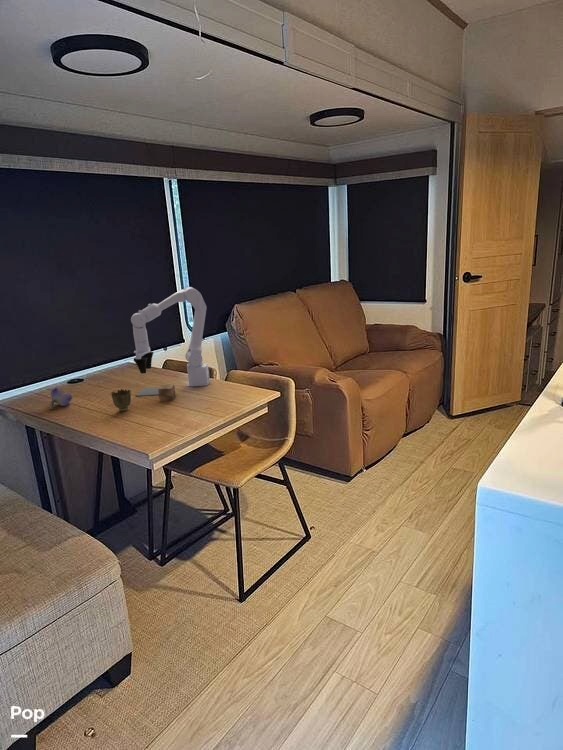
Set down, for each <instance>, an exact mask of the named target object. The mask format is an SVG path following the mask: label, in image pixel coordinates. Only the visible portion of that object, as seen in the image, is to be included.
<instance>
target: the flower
mask: <svg viewBox="0 0 563 750" xmlns="http://www.w3.org/2000/svg"><path fill="white" fill-rule="evenodd" d="M50 397H51V401H50V402H49V408H50V410H51V409H53V410H54V404H58V405H60V406H61V407H67V406H70V403H71V401H72V399H73V396H72V394H71V393H69V392H63V389H62V388H60V389H59V388H58V387H57V386H55V387H54V389H51V391H50Z"/></svg>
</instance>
